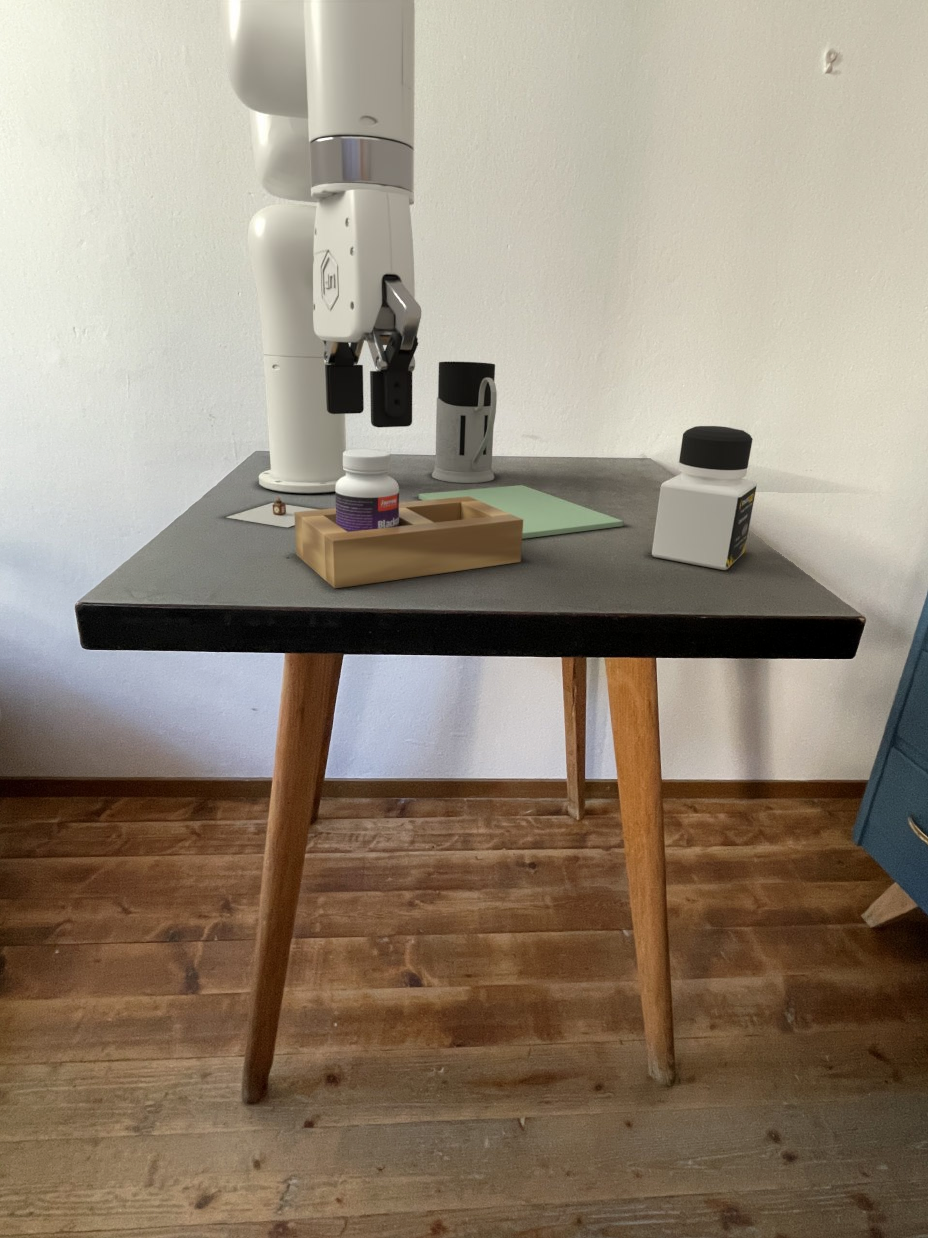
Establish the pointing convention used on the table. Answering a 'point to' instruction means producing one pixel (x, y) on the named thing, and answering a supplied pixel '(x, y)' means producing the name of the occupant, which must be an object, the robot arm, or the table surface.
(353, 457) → the pill bottle
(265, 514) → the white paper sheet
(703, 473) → the medicine bottle
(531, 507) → the mat
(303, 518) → the holder
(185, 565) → the table surface
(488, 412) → the glass holder
